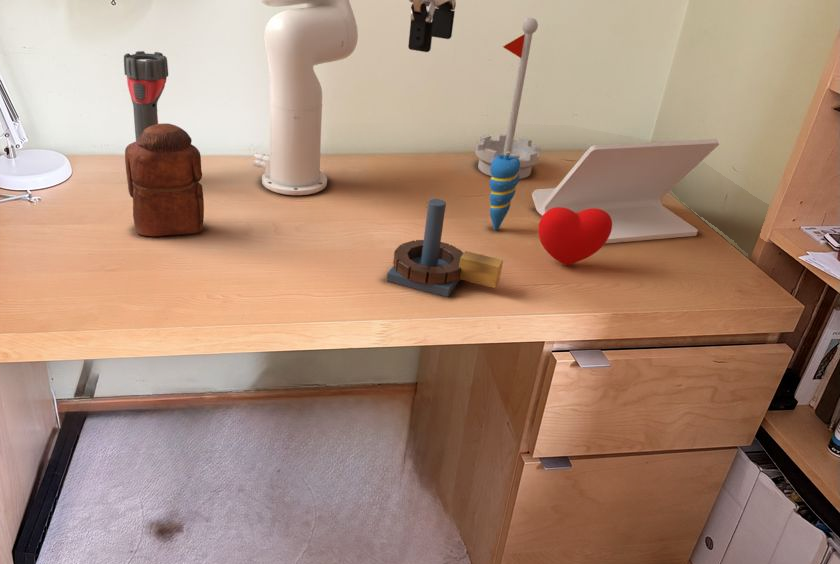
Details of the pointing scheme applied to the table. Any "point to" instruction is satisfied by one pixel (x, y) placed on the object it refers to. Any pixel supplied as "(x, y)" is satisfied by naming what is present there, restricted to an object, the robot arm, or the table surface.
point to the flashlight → (145, 86)
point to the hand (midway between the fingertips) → (430, 43)
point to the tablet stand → (629, 186)
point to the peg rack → (429, 252)
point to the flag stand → (512, 116)
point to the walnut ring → (458, 268)
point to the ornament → (502, 186)
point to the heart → (574, 233)
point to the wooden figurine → (165, 182)
